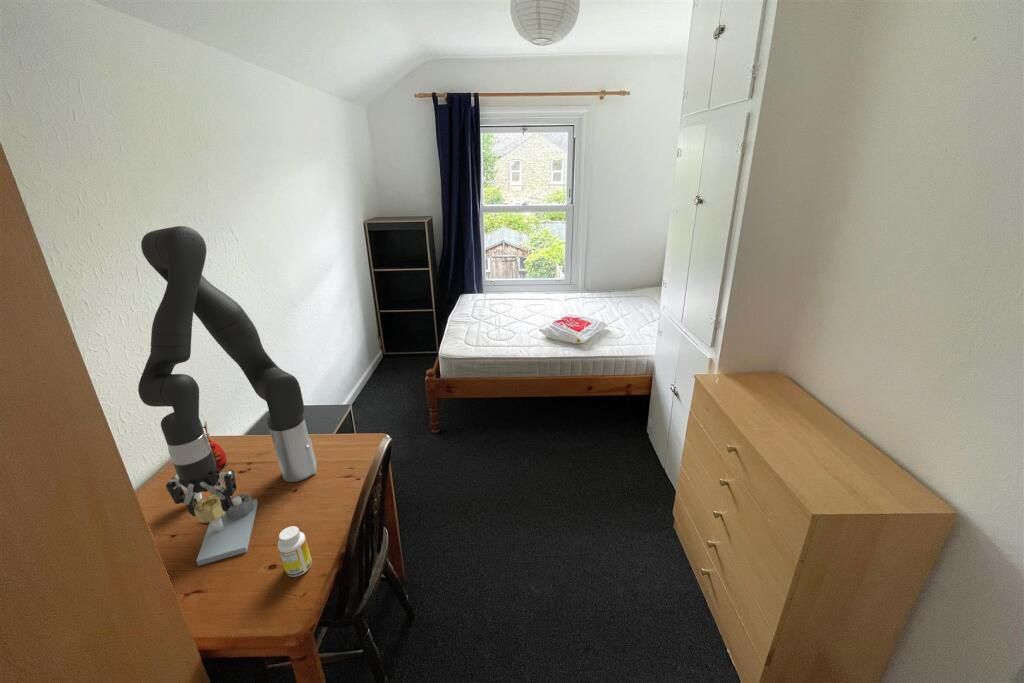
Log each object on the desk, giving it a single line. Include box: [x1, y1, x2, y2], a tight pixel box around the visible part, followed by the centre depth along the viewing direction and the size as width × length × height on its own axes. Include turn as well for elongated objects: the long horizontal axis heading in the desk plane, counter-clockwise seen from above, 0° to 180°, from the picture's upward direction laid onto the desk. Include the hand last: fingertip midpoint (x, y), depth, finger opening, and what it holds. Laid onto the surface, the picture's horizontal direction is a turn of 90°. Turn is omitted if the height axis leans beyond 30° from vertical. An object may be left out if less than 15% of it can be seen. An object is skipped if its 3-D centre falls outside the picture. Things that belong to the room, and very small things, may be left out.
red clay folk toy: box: [202, 421, 228, 472], centre depth 134 cm, size 8×7×15 cm
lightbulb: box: [175, 473, 203, 502], centre depth 121 cm, size 6×6×11 cm
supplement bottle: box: [277, 525, 313, 578], centre depth 98 cm, size 6×6×10 cm
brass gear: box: [194, 494, 226, 524], centre depth 108 cm, size 6×6×3 cm
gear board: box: [195, 493, 259, 566], centre depth 110 cm, size 10×18×6 cm, turn 21°
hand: (212, 511), depth 108 cm, fingers closed on brass gear, 6 cm apart
